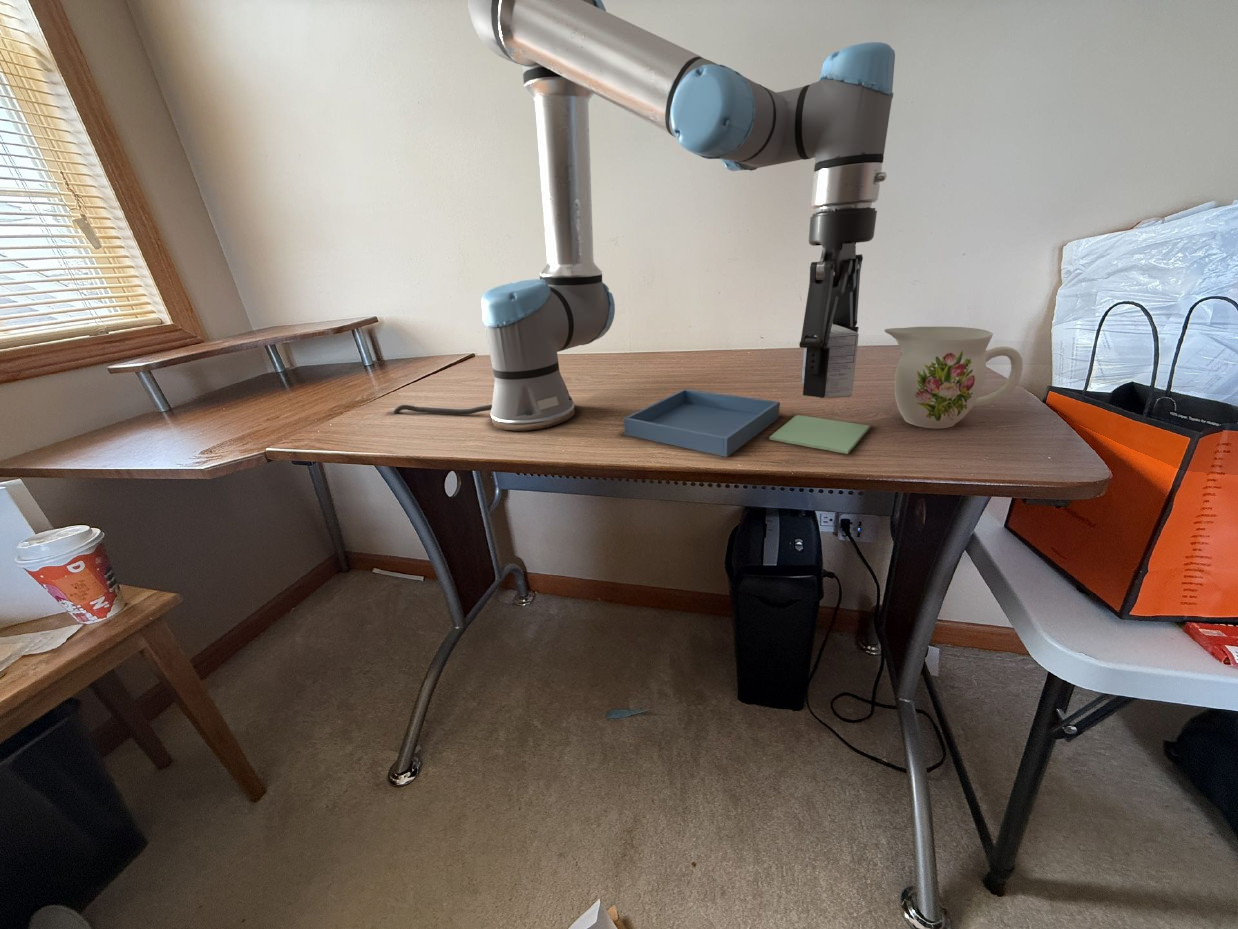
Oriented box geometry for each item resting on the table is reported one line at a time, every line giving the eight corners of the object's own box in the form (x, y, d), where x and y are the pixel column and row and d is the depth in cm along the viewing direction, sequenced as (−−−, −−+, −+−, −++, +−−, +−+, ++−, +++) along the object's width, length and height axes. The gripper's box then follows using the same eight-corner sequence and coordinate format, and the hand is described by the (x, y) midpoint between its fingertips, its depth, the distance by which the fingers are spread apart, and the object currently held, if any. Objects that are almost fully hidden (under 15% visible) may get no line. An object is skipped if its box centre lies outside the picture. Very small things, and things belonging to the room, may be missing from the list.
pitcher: (1023, 436, 65) (1054, 333, 59) (877, 432, 70) (892, 337, 64) (991, 410, 75) (1015, 319, 69) (864, 408, 80) (877, 323, 74)
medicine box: (852, 397, 65) (861, 332, 61) (819, 399, 65) (825, 335, 61) (829, 382, 72) (836, 323, 68) (799, 384, 72) (804, 325, 68)
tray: (624, 434, 77) (623, 418, 76) (684, 403, 90) (684, 388, 88) (727, 457, 66) (727, 438, 65) (778, 417, 79) (780, 401, 78)
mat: (769, 439, 71) (769, 436, 70) (796, 417, 78) (796, 414, 78) (847, 454, 64) (848, 450, 64) (869, 428, 72) (869, 425, 71)
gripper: (850, 204, 49) (827, 412, 59) (897, 205, 64) (873, 371, 73) (779, 212, 54) (769, 404, 63) (838, 211, 68) (823, 367, 78)
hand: (825, 386), depth 68 cm, fingers closed on medicine box, 9 cm apart
